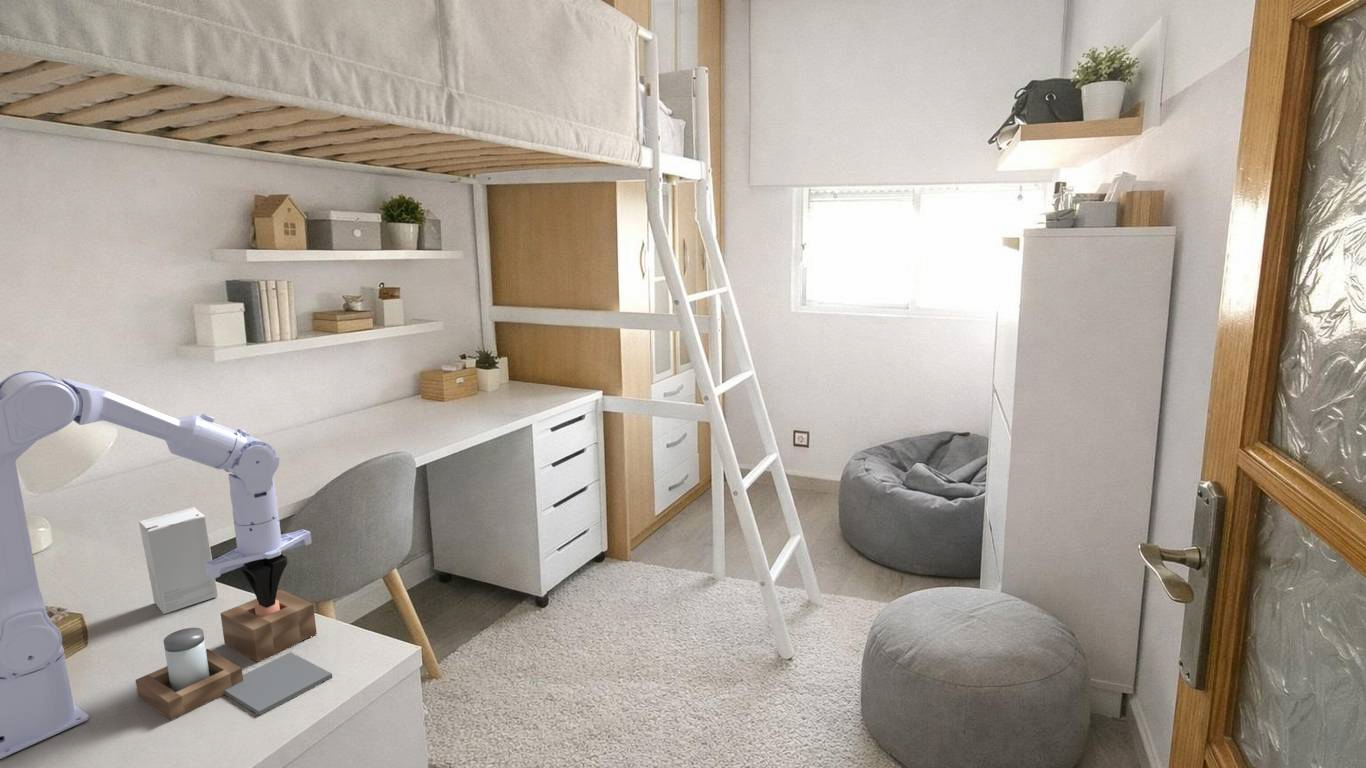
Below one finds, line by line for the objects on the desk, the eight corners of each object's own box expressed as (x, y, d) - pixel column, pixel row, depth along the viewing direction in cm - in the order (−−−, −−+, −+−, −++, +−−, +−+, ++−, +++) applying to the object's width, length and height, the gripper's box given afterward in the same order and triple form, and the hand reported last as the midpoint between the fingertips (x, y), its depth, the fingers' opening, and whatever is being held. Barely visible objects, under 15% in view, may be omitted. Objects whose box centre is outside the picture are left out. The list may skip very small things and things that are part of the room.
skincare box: (208, 587, 132) (196, 505, 129) (219, 598, 128) (208, 514, 125) (150, 604, 126) (137, 519, 123) (160, 616, 122) (147, 528, 119)
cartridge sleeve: (171, 720, 96) (168, 702, 96) (138, 696, 101) (135, 679, 101) (243, 684, 104) (241, 668, 103) (210, 664, 108) (207, 648, 108)
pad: (259, 715, 97) (258, 711, 97) (218, 690, 102) (218, 686, 102) (332, 677, 105) (331, 673, 105) (291, 655, 111) (290, 652, 110)
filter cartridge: (181, 704, 99) (173, 648, 98) (165, 694, 102) (157, 638, 100) (217, 688, 103) (209, 633, 101) (201, 677, 105) (193, 624, 104)
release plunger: (265, 642, 113) (262, 611, 112) (254, 636, 115) (250, 605, 114) (286, 633, 115) (283, 602, 114) (275, 627, 117) (271, 597, 116)
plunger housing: (257, 662, 109) (253, 629, 108) (224, 644, 114) (220, 613, 113) (316, 634, 116) (313, 604, 115) (283, 618, 121) (280, 589, 120)
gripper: (218, 541, 103) (231, 633, 106) (319, 508, 115) (328, 592, 118) (192, 530, 107) (205, 619, 110) (292, 499, 119) (301, 580, 122)
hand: (267, 604), depth 114 cm, fingers closed, pressing on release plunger
